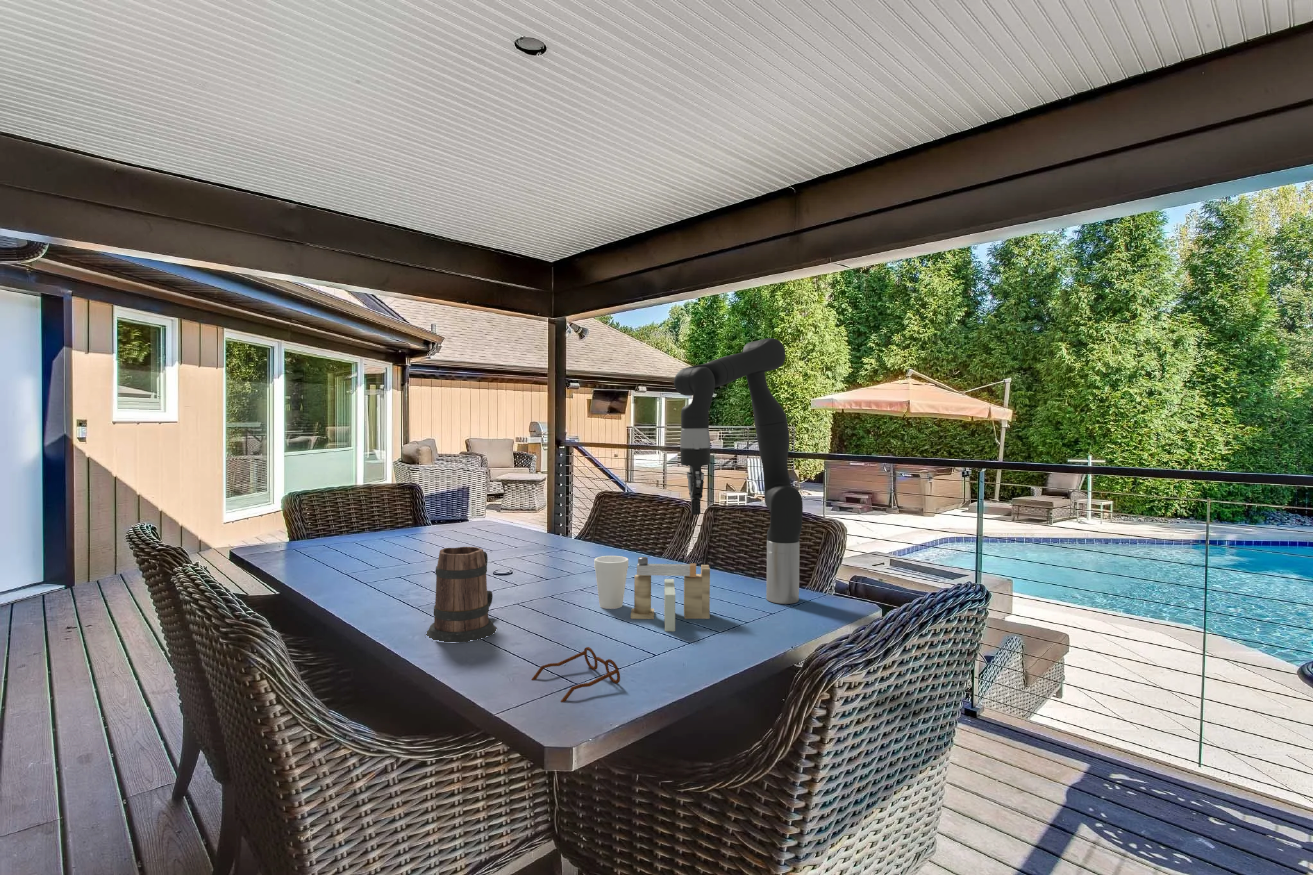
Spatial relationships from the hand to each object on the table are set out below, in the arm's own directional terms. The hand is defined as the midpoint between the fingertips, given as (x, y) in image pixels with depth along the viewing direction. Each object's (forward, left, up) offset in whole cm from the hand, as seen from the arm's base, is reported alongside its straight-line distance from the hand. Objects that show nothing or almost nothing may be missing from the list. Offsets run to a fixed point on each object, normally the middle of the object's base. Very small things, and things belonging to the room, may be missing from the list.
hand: (695, 514), depth 166 cm
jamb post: (-6, -14, -28) cm, 31 cm away
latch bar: (-5, -7, -17) cm, 19 cm away
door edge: (-1, -7, -28) cm, 28 cm away
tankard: (+5, -57, -28) cm, 63 cm away
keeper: (-6, 0, -28) cm, 28 cm away
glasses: (+39, -26, -28) cm, 55 cm away
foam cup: (-15, -23, -28) cm, 39 cm away
